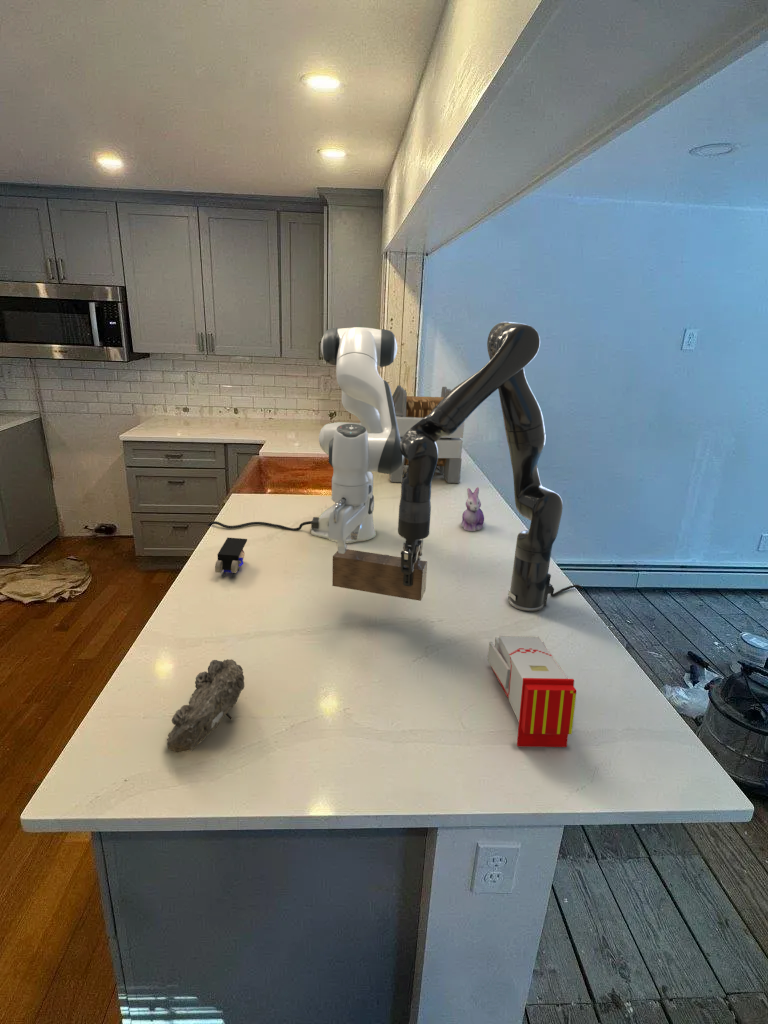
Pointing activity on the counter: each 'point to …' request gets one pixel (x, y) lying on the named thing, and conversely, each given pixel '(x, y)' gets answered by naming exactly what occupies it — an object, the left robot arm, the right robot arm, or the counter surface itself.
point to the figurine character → (230, 556)
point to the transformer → (448, 446)
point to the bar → (377, 574)
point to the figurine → (473, 512)
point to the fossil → (206, 705)
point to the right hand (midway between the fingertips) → (410, 579)
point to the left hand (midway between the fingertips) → (348, 545)
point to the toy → (534, 690)
